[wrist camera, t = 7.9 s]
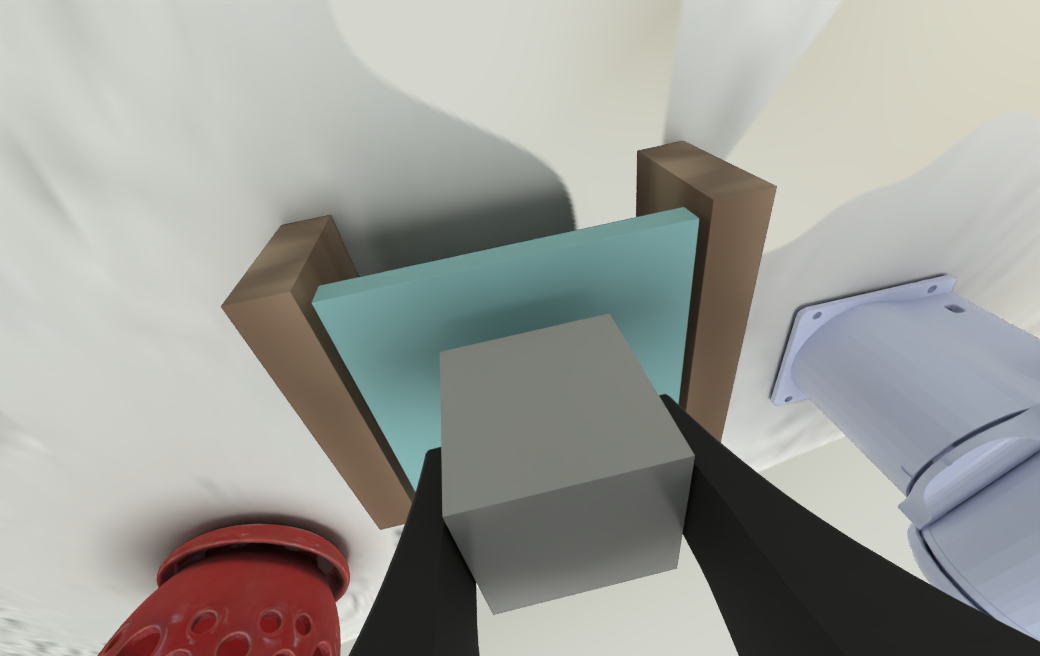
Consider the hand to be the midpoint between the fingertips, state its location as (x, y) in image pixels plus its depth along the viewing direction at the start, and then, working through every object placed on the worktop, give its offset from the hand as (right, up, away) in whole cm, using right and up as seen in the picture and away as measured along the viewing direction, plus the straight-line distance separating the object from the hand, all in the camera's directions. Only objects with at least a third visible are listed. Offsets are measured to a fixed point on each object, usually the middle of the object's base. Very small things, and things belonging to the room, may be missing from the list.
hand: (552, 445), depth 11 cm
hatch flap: (-1, +2, +8) cm, 8 cm away
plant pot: (-19, -13, +19) cm, 30 cm away
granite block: (0, +1, +2) cm, 3 cm away
